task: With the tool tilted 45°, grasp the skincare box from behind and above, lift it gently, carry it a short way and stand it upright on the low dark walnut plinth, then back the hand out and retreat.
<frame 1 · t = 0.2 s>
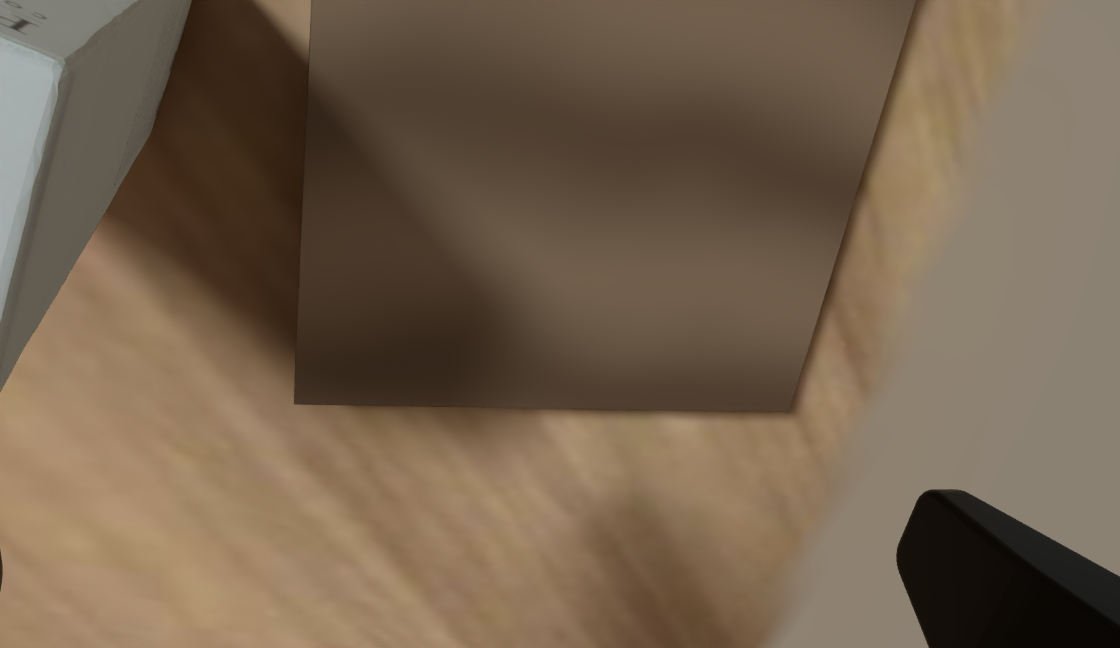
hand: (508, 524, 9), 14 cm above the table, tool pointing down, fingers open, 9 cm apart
walnut plinth: (584, 136, 23), on the table
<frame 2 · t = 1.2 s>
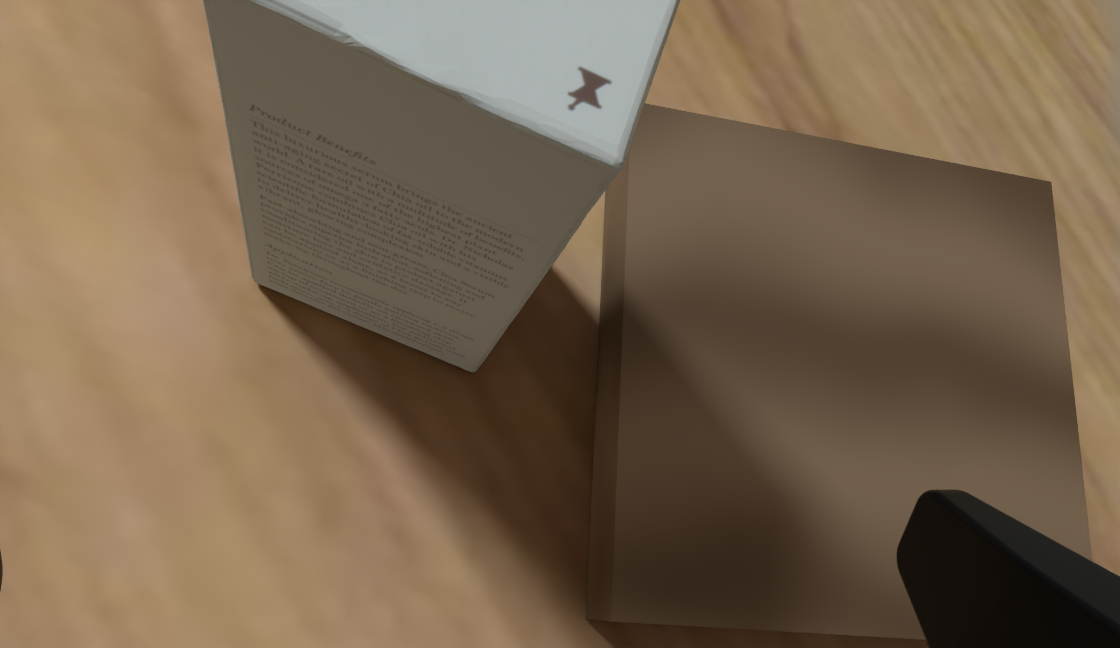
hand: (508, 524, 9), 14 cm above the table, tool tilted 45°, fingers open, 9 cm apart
walnut plinth: (822, 386, 26), on the table
skincare box: (393, 259, 24), on the table
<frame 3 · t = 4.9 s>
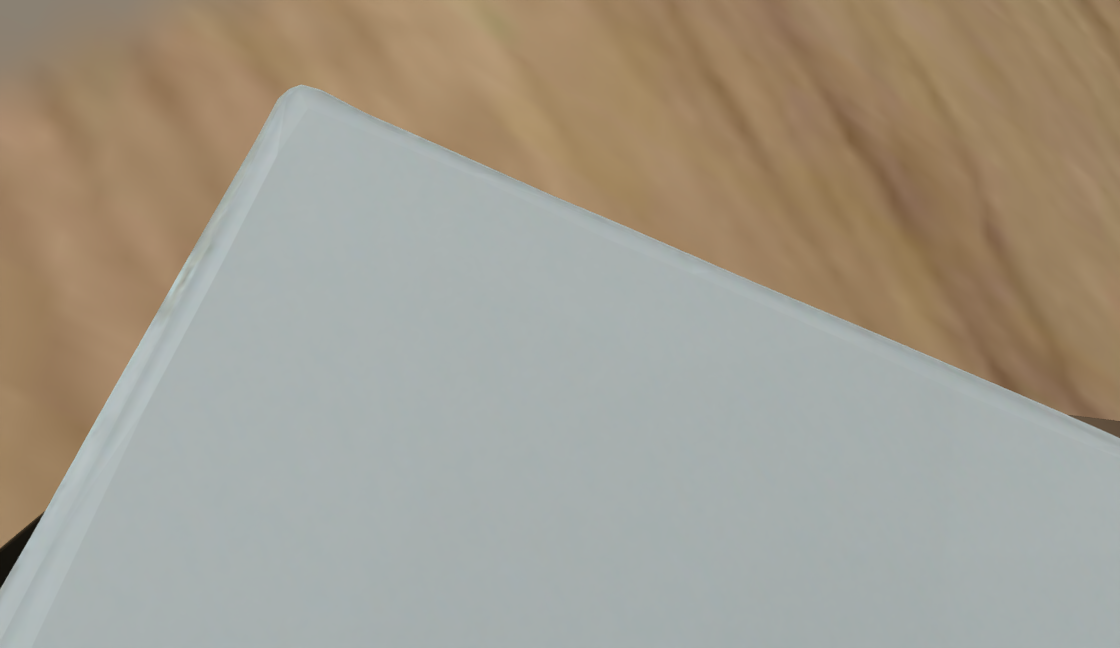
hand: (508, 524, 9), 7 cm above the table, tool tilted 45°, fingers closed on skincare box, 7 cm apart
skincare box: (421, 645, 15), on the table, touching gripper
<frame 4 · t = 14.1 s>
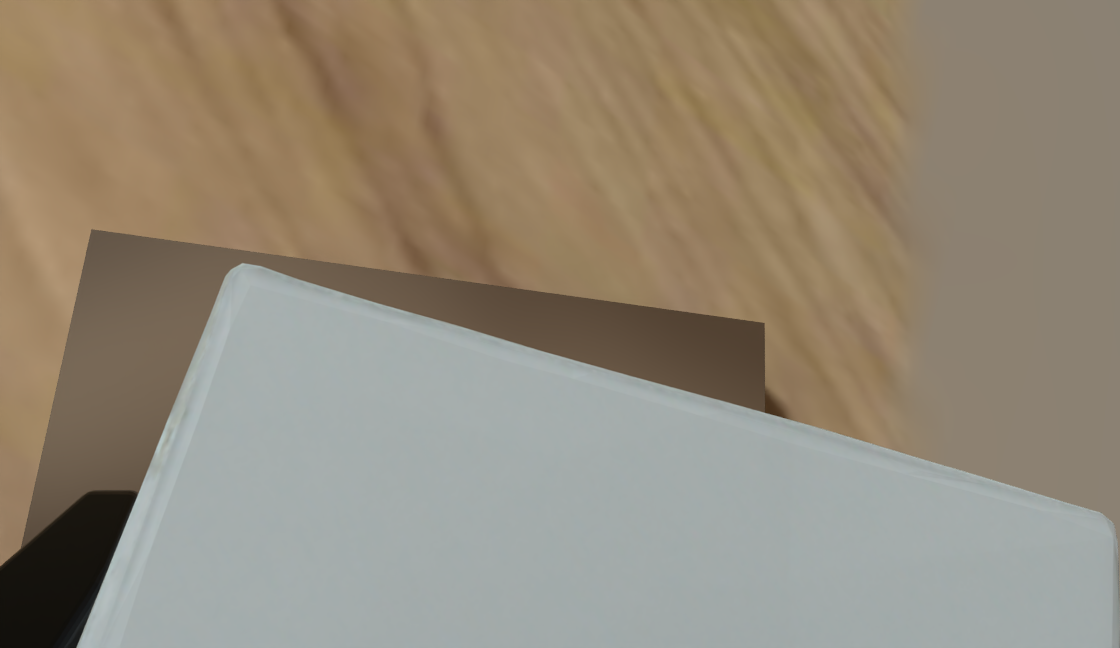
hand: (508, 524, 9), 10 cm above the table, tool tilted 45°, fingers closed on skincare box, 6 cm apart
walnut plinth: (409, 630, 18), on the table
when the fingers open (10 cm above the table, at t = 14.8 s): skincare box stays where it is, resting on walnut plinth.
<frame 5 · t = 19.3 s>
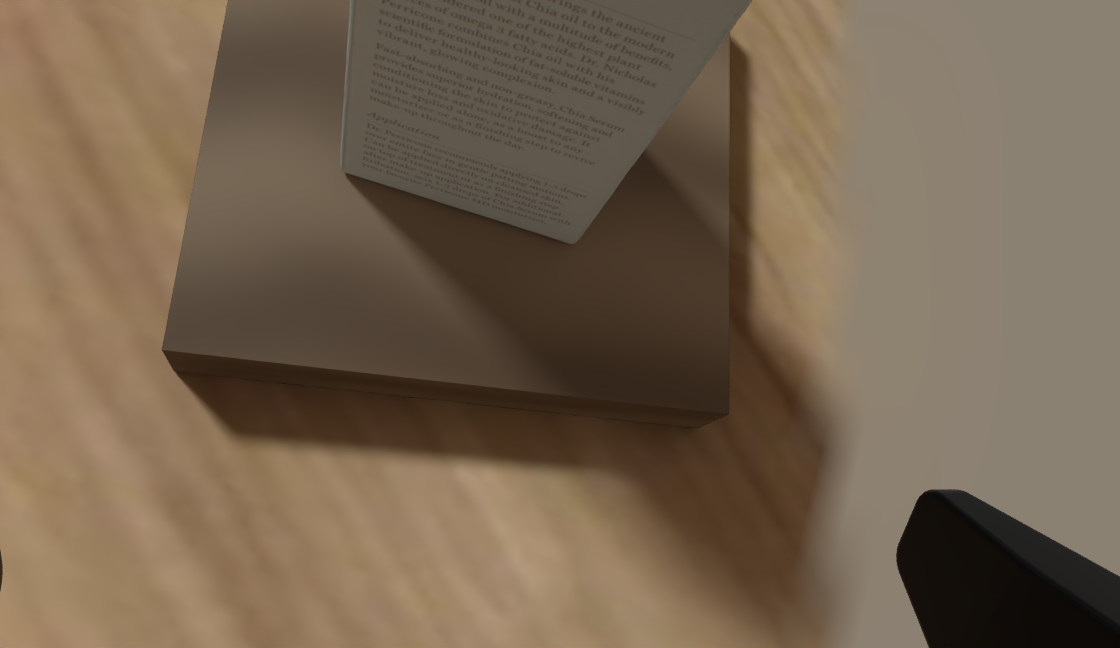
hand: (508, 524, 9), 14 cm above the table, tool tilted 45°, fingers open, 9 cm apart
walnut plinth: (474, 164, 25), on the table
skincare box: (475, 141, 23), point 2 cm above the table, touching walnut plinth
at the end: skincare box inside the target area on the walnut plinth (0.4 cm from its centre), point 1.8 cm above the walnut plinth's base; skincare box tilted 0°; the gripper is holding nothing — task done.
